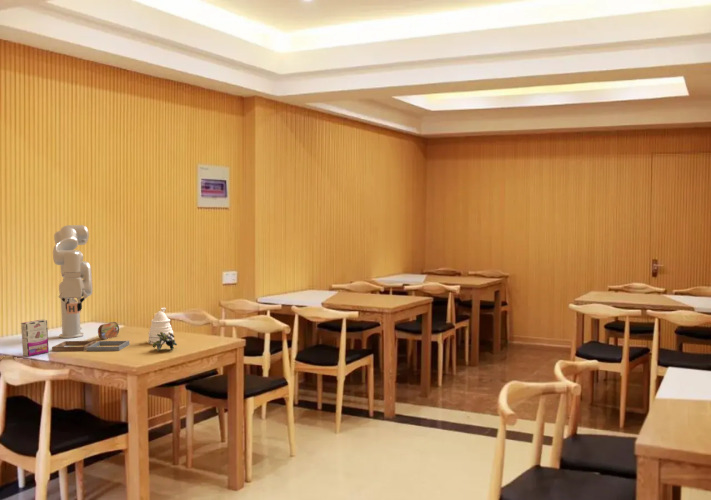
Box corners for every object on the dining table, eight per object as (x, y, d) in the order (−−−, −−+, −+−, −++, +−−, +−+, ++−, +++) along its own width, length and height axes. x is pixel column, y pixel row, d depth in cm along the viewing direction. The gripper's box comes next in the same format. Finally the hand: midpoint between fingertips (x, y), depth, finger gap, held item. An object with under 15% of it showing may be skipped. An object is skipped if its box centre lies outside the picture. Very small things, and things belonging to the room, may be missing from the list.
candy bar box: (43, 351, 341) (41, 319, 340) (49, 352, 338) (47, 320, 337) (21, 355, 331) (20, 322, 330) (28, 356, 328) (26, 323, 327)
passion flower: (171, 360, 343) (183, 341, 340) (154, 360, 334) (166, 341, 331) (160, 345, 349) (172, 327, 346) (143, 345, 340) (155, 326, 337)
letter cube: (71, 312, 351) (70, 302, 351) (80, 312, 351) (80, 302, 351) (66, 313, 346) (66, 304, 346) (76, 313, 346) (76, 304, 346)
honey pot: (163, 338, 372) (162, 306, 371) (178, 341, 364) (177, 308, 363) (143, 342, 361) (142, 309, 360) (159, 345, 354) (158, 311, 353)
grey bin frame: (98, 344, 357) (98, 341, 356) (129, 344, 357) (129, 340, 357) (87, 351, 341) (87, 347, 341) (119, 350, 341) (118, 346, 341)
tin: (101, 340, 369) (101, 325, 368) (97, 340, 370) (96, 325, 369) (119, 335, 383) (119, 320, 383) (115, 335, 384) (114, 320, 384)
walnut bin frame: (65, 344, 357) (65, 341, 357) (95, 344, 358) (95, 340, 357) (52, 351, 341) (51, 347, 341) (83, 350, 342) (83, 346, 342)
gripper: (52, 276, 344) (54, 312, 345) (86, 276, 344) (87, 311, 345) (59, 274, 351) (60, 309, 352) (92, 274, 351) (93, 309, 352)
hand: (73, 310), depth 348 cm, fingers closed on letter cube, 5 cm apart
